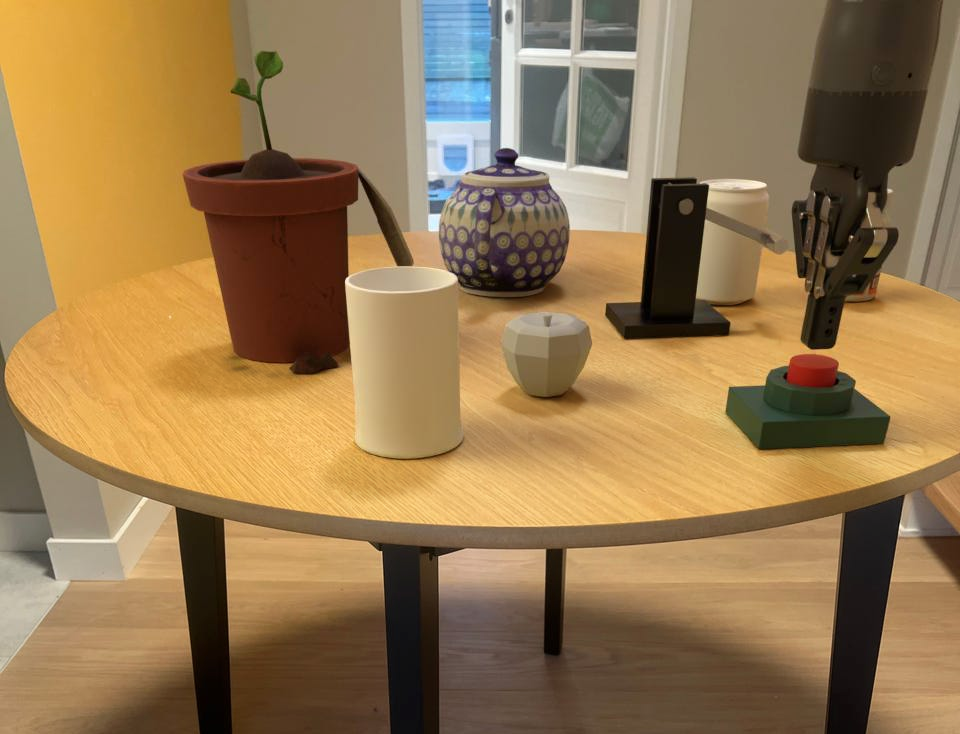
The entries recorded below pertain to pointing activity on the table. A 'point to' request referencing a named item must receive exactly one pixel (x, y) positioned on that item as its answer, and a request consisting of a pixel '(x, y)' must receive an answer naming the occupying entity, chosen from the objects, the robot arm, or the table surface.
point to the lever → (748, 231)
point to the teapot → (504, 230)
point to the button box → (805, 413)
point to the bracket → (671, 268)
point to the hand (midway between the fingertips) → (816, 346)
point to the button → (812, 370)
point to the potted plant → (285, 244)
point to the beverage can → (731, 242)
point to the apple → (546, 351)
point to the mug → (405, 360)
